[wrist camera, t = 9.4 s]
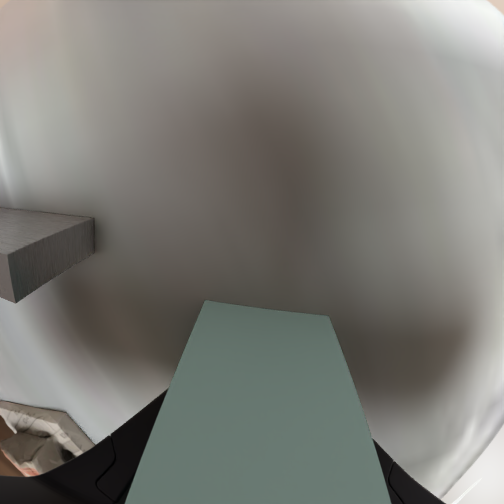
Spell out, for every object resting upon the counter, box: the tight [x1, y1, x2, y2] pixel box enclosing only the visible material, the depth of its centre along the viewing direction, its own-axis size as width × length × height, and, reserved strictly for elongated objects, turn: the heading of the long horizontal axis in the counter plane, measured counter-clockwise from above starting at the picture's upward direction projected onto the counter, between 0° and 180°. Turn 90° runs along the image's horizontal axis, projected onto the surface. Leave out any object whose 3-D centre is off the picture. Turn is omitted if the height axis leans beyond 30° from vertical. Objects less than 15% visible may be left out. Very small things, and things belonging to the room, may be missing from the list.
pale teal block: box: [125, 300, 391, 504], centre depth 6 cm, size 4×5×7 cm
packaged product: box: [0, 401, 95, 477], centre depth 13 cm, size 18×5×10 cm
